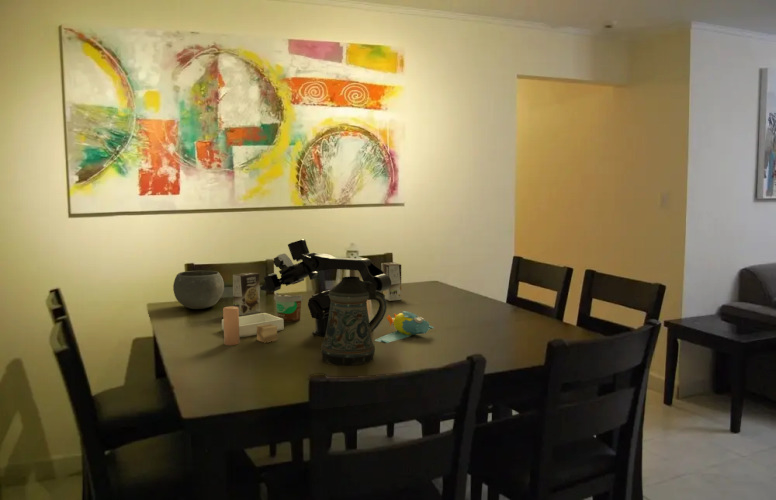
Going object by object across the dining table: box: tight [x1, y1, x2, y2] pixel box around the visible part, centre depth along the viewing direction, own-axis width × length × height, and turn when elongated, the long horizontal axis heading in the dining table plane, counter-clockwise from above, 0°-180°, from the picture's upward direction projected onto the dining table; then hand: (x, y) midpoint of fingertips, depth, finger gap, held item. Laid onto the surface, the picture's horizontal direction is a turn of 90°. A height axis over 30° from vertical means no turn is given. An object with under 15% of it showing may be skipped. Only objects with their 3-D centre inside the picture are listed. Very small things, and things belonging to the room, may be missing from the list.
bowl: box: [172, 270, 225, 310], centre depth 270 cm, size 20×20×15 cm
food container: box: [273, 292, 304, 323], centre depth 247 cm, size 12×6×10 cm, turn 62°
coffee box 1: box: [232, 272, 261, 316], centre depth 261 cm, size 9×6×16 cm
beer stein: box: [320, 276, 388, 367], centre depth 196 cm, size 16×19×25 cm
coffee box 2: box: [380, 261, 402, 302], centre depth 290 cm, size 9×6×16 cm
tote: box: [221, 312, 285, 338], centre depth 232 cm, size 14×18×4 cm
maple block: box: [256, 324, 278, 344], centre depth 218 cm, size 5×5×5 cm
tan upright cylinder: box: [222, 306, 241, 346], centre depth 214 cm, size 5×5×12 cm
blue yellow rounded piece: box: [374, 310, 435, 344], centre depth 225 cm, size 28×9×15 cm
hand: (268, 285), depth 238 cm, fingers open, 9 cm apart
